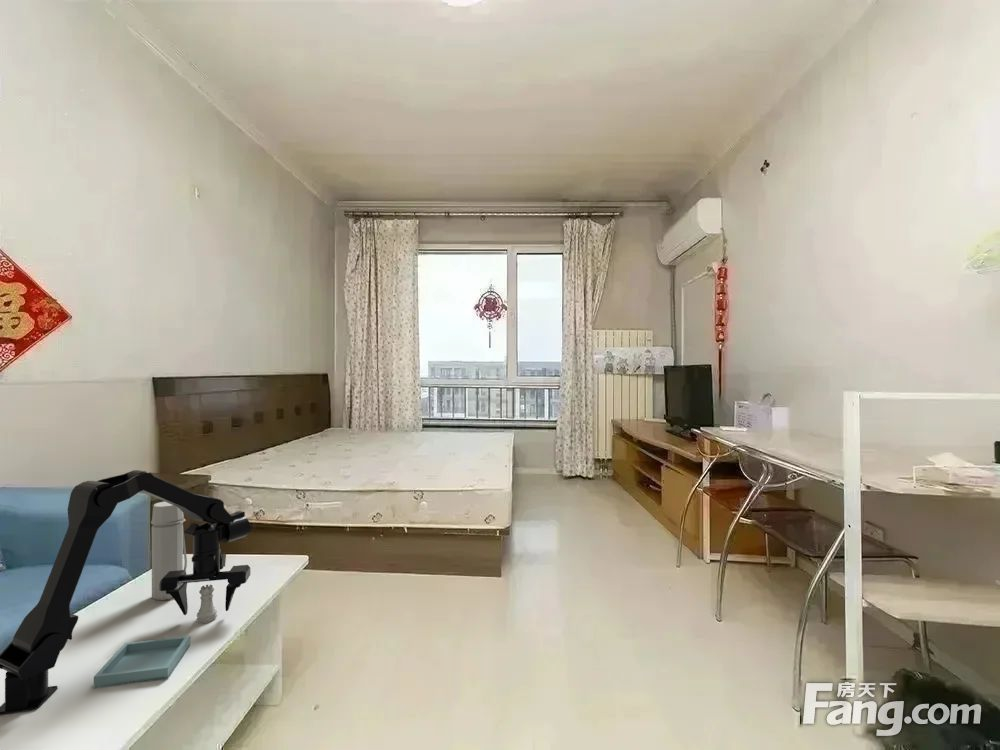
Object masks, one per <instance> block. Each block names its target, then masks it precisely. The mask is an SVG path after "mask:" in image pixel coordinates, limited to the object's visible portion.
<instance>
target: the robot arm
mask: <svg viewBox="0 0 1000 750" xmlns="http://www.w3.org/2000/svg"><path fill="white" fill-rule="evenodd" d="M141 492H142V493H143V494H146V495H148V496H151V497H153V498H155V499H157V500H160V501H161V502H167V503H170V504H172V505H174V506H176V507H178V508H179V509H180V510H181V511H182V512H183V515H186V516H187V517H188V518H190V519H192V520H195V521H200V522H204V523H202V524H198V523H192V522H191V524H190V525H189V526H188V527H187V528H186V529H185V530H184V535H188V536H192V557H191V562H192V566H193V567H192V573H188V574H187V570H186V571H185V570H184V569H183V570H178V571H169V572H168V573H167V574H166V575H165V576H164V577H163V578H162V579H161V580H160V583H159V590H160V591H166V594H170V595H171V596H172V597H173V598H172V599H173V600H174V601H175V602H176V604H177V606H178V608H179V609H180V611H181V612H182V614H183V616H186V615H187V614H188V611H189V610H188V608H189V606H188V595H187V594H188V593H187V588H188V587H187V586H188V584H189V583H200V582H202V583H203V582H212V581H214V582H215V581H223V580H224V581H225V580H227V585H226V587H225V603H224V604H225V605H224V607H225V611H226V612H227V611H229V609H230V606H231V603H232V600H233V597H234V594H235V591H236V590H237V588H240V587H241V586H242V585H243V584H245V583H247V581H248V580H249V578H250V576H251V567H250V566H249V565H248V564H241V565H233V566H232V568H230V570H227V571H226V570H225V571H221V570H223V569H224V567H226V560H227V559H226V558H227V553H222V549H221V543H224V544H226V543H229V542H233V541H237V540H239V539H242V538H245V537H247V536H249V534H250V532H251V529H252V528H251V524H250V520H249V519H248V518H247V517H246V512H245V511H241V510H238V511H235V512H233V513H229V512H228V510H227V509H226V508H225V502H224V501H223V500H222V499H220V498H216V497H211V496H209V495H208V496H207V495H202V494H199V493H198V494H197V493H194V492H192V491H189V490H187V489H184V488H183V487H180V486H177V485H175V484H174V483H171V482H169V481H167V480H165V479H162V478H161V477H158V476H155V475H154V474H152V473H151V472H150V471H146V470H140V469H138V470H137V469H133V470H131V471H128V472H126V473H125V472H124V473H123V474H119V475H114V476H110V477H106V478H102V479H98V480H86V481H83V482H80V483H78V484H77V485H75V486H74V487H73V489H72V490H71V493H70V495H69V501H68V506H67V519H68V527H67V530H66V533H65V535H64V537H63V540H62V542H61V545H60V548H59V550H58V552H57V555H56V558H55V560H54V563H53V565H52V567H51V571H50V572H49V573H50V574H49V575H48V578H47V580H46V583H45V586H44V589H43V591H42V592H41V593H42V594H41V595H40V598H39V601H38V603H37V604H36V605H35V606H34V607H33V608H32V610H30V612H28V614H26V616H24V618H23V620H22V621H21V623H20V624H19V626H18V628H17V629H16V632H15V634H14V635H13V638H12V640H11V641H10V642H9V644H8V645H7V646H6V647H5V648H4V650H3V651H2V652H1V653H0V670H4V671H6V673H5V678H4V702H3V703H2V704H1V705H0V715H5V714H12V713H19V712H27V711H34V710H37V709H39V708H40V707H41V706H42V704H44V703H45V702H46V701H47V700H48V699H49V698H50V697H51V696H52V695H53V694H54V693H55V692H56V691H57V690H58V689H59V688H58V685H51V686H50V685H49V670H50V669H54V667H55V666H56V663H57V661H58V657H59V656H60V653H61V652H62V651H63V649H64V648H65V646H66V644H67V643H68V640H70V641H71V640H72V639H73V631H74V628H75V627H76V625H77V623H78V622H79V621H78V620H79V615H76V614H73V613H72V612H71V609H70V606H71V602H72V599H73V597H74V594H75V592H76V588H77V586H78V584H79V581H80V579H81V575H82V573H83V570H84V568H85V565H86V563H87V560H88V557H89V554H90V552H91V550H92V549H91V548H92V547H93V543H94V540H95V538H96V536H97V532H98V531H99V529H100V527H102V526H103V524H104V523H106V522H107V520H108V519H109V518H110V517H111V516H112V514H113V513H114V511H115V509H116V507H117V505H118V504H120V503H122V502H124V501H127V500H130V498H133V497H134V496H135V495H136V494H139V493H141ZM220 542H221V543H220Z"/></svg>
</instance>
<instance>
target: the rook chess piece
mask: <svg viewBox="0 0 1000 750" xmlns="http://www.w3.org/2000/svg"><path fill="white" fill-rule="evenodd" d="M214 591H215V588H214V586H213V585H212V584H205V585H202V586H201V587H200V590H199V591H198V592H199V594H200V598H199V599H200V607H199V609H198V612H197V613H196V621H197V623H199V622H200V624H205V623H204V622H207V623H210V622H212V621H214V620H215V619H216V618H217V617H218V614H217V611H218V610H217V609H216V606H215V605H214V602H213V597H214V594H213V592H214ZM209 621H210V622H209Z"/></svg>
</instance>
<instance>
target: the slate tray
mask: <svg viewBox="0 0 1000 750" xmlns="http://www.w3.org/2000/svg"><path fill="white" fill-rule="evenodd" d="M190 647H191V635H186V636H177V637H167V638H157V639H150V640H142V641H141V640H140V641H139V640H138V641H132V642H131V641H130V642H125V643H124V644H122V645H121V647H119V649H118V650H117V651H116V652H115V653H114V654H113V655H112V656H111V657H110V659H108V661H107V662H106V663H105V664H104V665H103V666H102V667H101V668H100V669H99V671H97V673H96V674H95V675H94V676H93V689H99V688H100V689H101V688H105V687H106V688H107V687H113V686H114V687H115V686H122V685H131V684H138V683H139V684H140V683H145V682H153V681H162V680H169V678H170V677H171V675H172V674H173V672H174V670H175V669H176V668H177V666H178V665H179V663H180V662H181V660H182V658H183V657H184V655H185V654H186V653H187V652H188V650H189V648H190Z"/></svg>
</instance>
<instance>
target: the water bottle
mask: <svg viewBox="0 0 1000 750" xmlns="http://www.w3.org/2000/svg"><path fill="white" fill-rule="evenodd" d="M184 515H185V514H184V513H183V512H182V511H181V510H180V509H179V508H178V507H176V506H174V505H172V504H170V503H167V502H165V501H160V502H156V503H154V504H153V509H152V516H151V521H150V524H151V597H152V598H153V599H154V600H156V601H164V600H165V601H166V599H167V600H171V599H173V597H172V596H171V595H170V594H166V591H160V590H159V583H160V580H161V579H162V578H163V577H164V576H165V575H166V574H167V573H168V572H169V571H178V570H185V571H186V572H187V567H188V565H187V564H188V558H187V557H188V556H187V550H186V549H187V548H186V540H185V534H184V531H185V530H184V522H186V519H185V516H184Z"/></svg>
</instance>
